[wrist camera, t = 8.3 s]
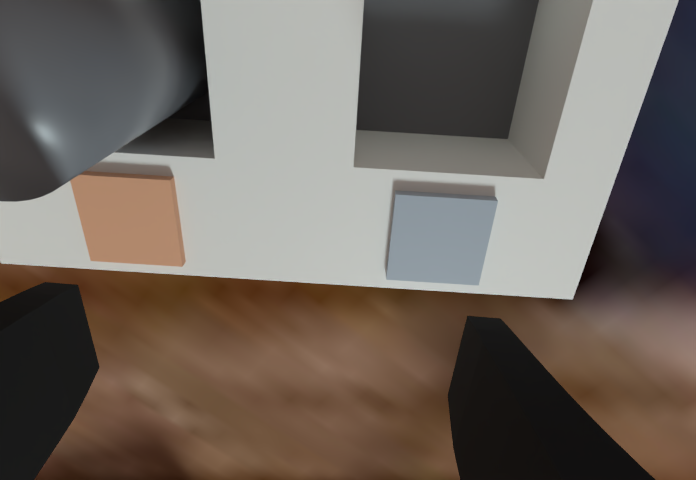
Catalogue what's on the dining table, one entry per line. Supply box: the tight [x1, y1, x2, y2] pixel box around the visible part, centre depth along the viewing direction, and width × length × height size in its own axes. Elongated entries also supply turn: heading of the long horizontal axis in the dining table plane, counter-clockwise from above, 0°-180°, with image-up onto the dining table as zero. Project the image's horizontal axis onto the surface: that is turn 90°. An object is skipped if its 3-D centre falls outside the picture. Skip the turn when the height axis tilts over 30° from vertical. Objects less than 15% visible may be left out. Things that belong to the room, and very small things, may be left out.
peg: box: [0, 0, 209, 202], centre depth 11 cm, size 4×4×8 cm
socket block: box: [0, 0, 679, 299], centre depth 14 cm, size 18×11×4 cm, turn 87°
